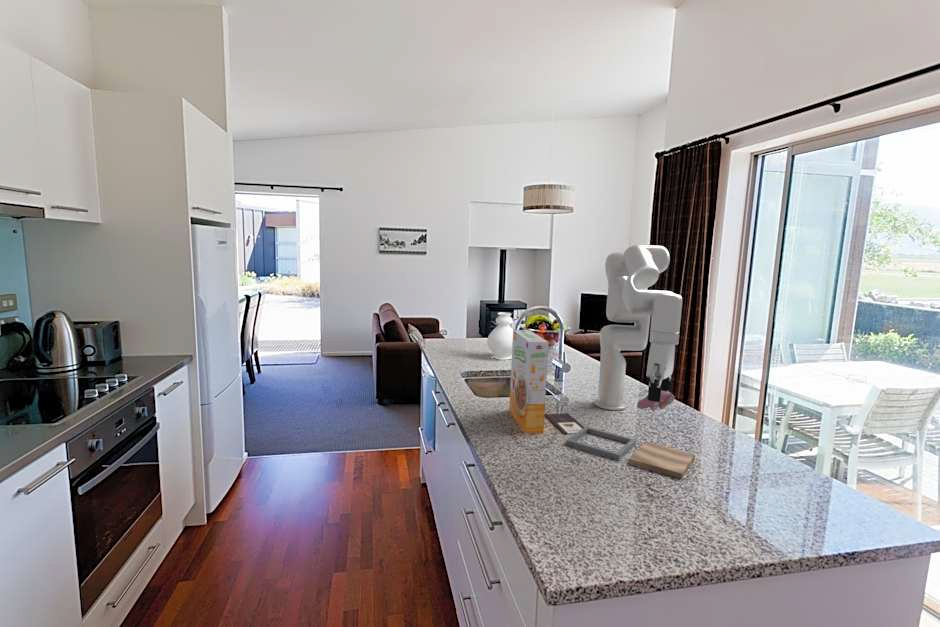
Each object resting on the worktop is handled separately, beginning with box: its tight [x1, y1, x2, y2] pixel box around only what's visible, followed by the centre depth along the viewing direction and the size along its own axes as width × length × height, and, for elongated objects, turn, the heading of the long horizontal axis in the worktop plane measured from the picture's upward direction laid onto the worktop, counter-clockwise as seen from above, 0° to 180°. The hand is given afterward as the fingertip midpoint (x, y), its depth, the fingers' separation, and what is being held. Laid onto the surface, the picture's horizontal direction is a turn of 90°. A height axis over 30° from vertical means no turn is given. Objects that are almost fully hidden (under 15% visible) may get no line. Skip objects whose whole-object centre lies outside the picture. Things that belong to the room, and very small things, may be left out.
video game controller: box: [636, 391, 676, 412], centre depth 135 cm, size 10×5×7 cm, turn 117°
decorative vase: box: [486, 311, 514, 359], centre depth 260 cm, size 18×18×25 cm
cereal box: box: [508, 329, 550, 434], centre depth 162 cm, size 22×6×30 cm, turn 8°
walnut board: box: [628, 441, 696, 480], centre depth 135 cm, size 16×14×2 cm
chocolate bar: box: [544, 413, 591, 435], centre depth 162 cm, size 9×1×18 cm
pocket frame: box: [565, 426, 637, 461], centre depth 146 cm, size 15×16×2 cm
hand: (658, 397), depth 134 cm, fingers closed on video game controller, 9 cm apart
